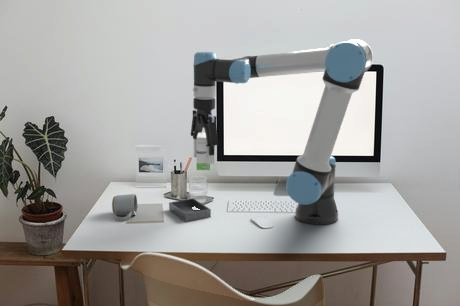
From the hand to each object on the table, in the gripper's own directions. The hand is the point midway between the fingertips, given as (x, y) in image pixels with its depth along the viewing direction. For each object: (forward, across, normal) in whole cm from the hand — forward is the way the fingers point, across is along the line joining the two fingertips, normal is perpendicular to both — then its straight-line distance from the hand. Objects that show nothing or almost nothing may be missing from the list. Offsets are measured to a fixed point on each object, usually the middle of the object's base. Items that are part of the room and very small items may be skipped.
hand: (203, 160), depth 202 cm
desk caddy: (+21, -3, -4) cm, 21 cm away
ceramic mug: (+21, -12, -25) cm, 35 cm away
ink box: (+3, 0, 0) cm, 3 cm away
